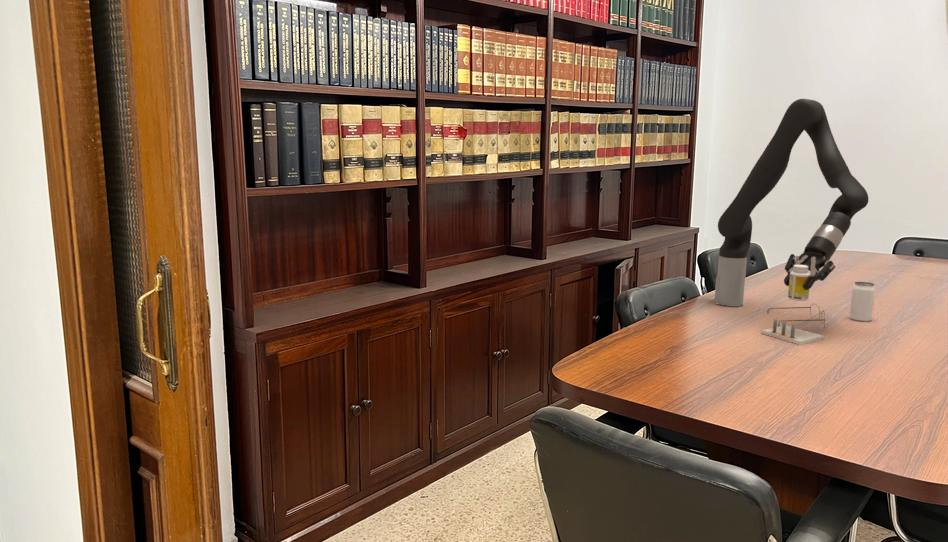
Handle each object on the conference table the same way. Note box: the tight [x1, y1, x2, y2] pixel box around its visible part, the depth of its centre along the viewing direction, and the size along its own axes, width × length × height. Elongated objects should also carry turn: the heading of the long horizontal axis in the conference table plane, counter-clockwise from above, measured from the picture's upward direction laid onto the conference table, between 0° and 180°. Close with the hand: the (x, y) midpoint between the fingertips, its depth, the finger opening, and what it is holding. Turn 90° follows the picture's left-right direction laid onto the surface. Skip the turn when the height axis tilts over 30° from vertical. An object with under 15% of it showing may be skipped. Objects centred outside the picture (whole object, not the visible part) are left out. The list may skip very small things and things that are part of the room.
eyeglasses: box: [766, 303, 826, 329], centre depth 223 cm, size 16×15×5 cm
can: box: [849, 281, 876, 323], centre depth 224 cm, size 6×6×12 cm
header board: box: [761, 319, 825, 345], centre depth 206 cm, size 13×11×5 cm
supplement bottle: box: [787, 265, 811, 302], centre depth 204 cm, size 6×6×10 cm
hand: (795, 286), depth 203 cm, fingers closed on supplement bottle, 5 cm apart
